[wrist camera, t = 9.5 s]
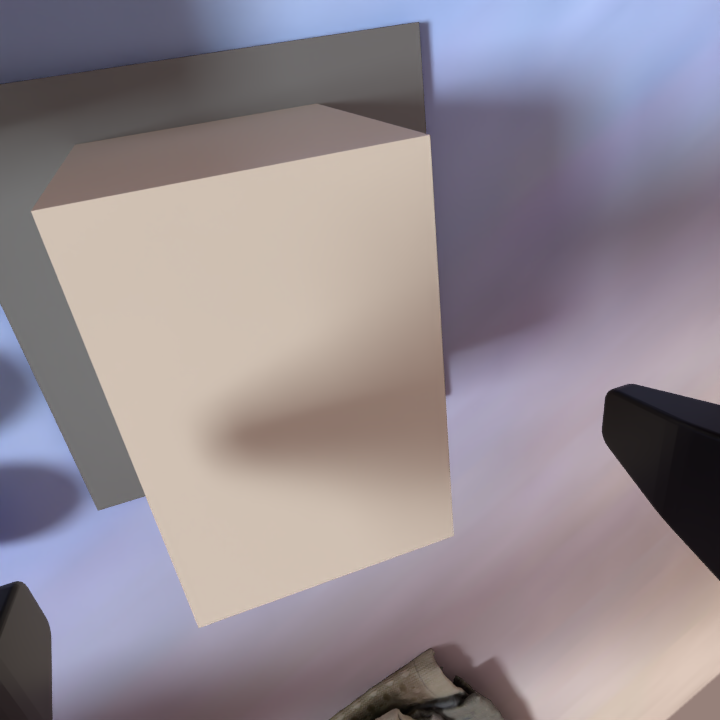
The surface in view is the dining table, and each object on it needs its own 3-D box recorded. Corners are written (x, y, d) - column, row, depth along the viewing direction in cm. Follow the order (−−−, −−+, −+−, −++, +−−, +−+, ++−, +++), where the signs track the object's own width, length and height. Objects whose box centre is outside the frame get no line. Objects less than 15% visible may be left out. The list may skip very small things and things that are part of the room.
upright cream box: (358, 392, 20) (453, 535, 14) (178, 444, 18) (198, 627, 13) (316, 103, 15) (430, 134, 9) (74, 145, 14) (30, 210, 8)
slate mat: (439, 398, 22) (443, 403, 21) (98, 502, 19) (98, 510, 19) (412, 22, 16) (419, 22, 15) (-91, 97, 13) (-96, 98, 13)
